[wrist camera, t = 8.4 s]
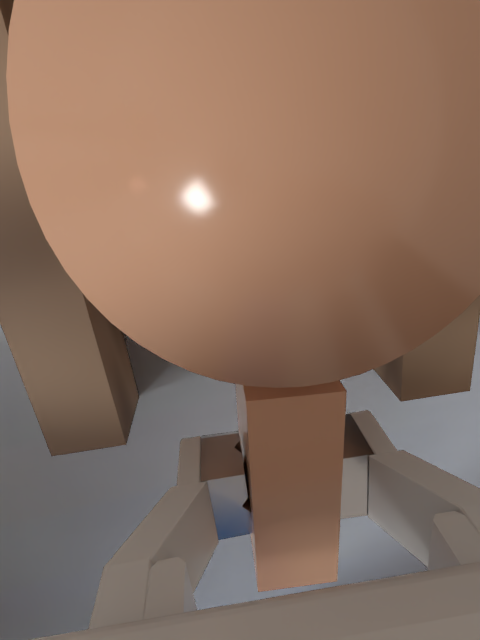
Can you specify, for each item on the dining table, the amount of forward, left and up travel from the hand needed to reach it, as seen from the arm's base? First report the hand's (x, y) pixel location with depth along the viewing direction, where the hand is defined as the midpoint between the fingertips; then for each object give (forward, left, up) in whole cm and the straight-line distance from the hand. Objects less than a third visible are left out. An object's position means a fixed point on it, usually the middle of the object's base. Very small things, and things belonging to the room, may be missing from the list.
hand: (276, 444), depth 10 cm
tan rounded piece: (+5, 0, -5) cm, 7 cm away
